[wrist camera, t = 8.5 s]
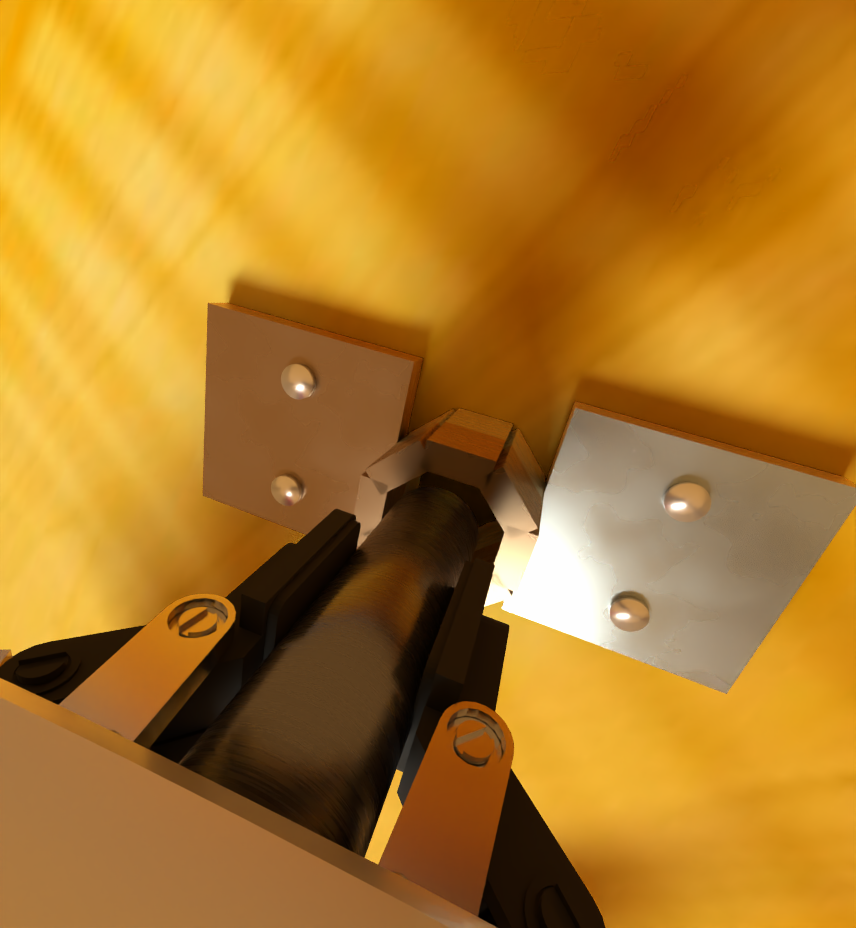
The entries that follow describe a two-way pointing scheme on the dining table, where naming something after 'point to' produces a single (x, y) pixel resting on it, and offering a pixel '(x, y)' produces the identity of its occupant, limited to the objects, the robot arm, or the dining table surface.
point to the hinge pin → (345, 678)
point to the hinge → (525, 494)
